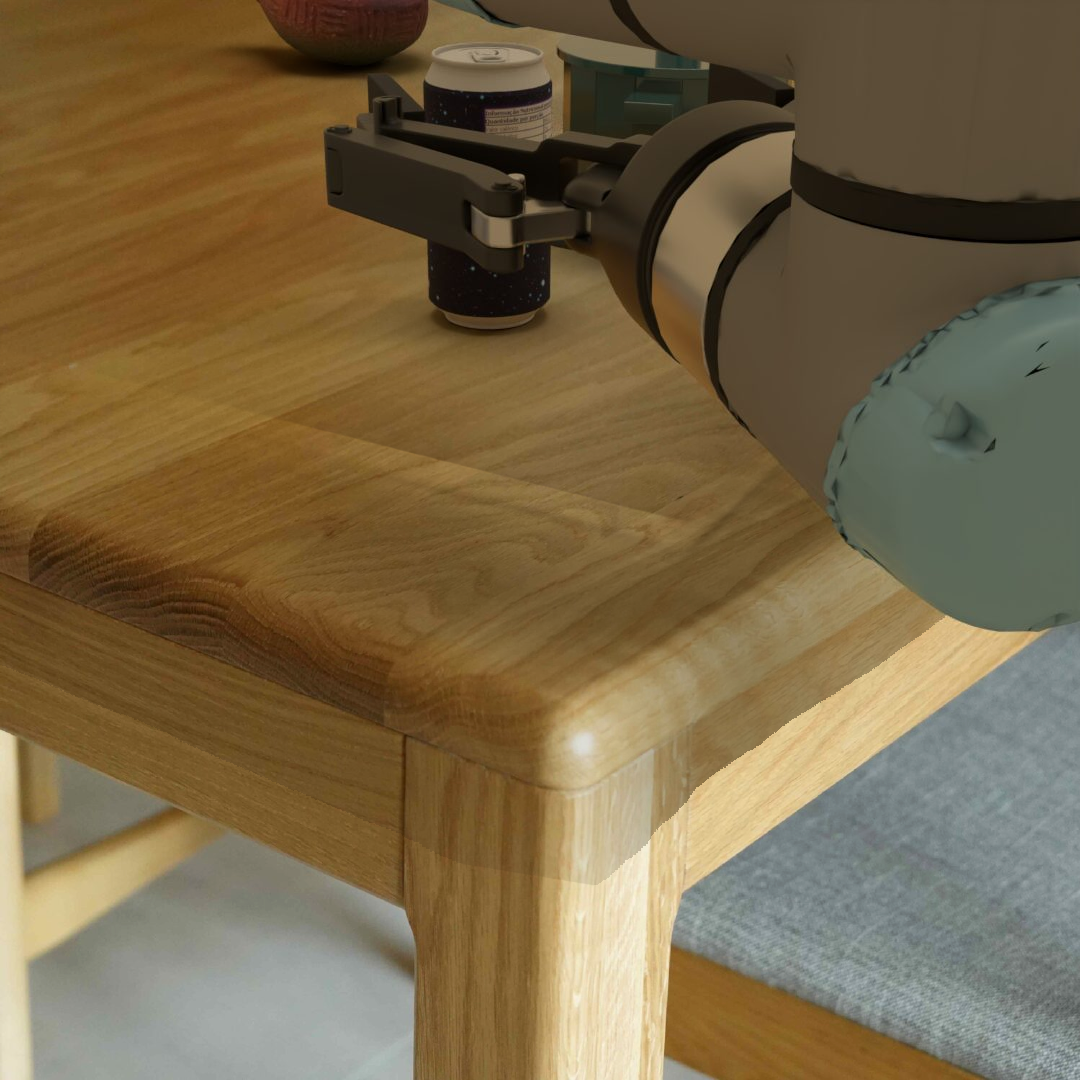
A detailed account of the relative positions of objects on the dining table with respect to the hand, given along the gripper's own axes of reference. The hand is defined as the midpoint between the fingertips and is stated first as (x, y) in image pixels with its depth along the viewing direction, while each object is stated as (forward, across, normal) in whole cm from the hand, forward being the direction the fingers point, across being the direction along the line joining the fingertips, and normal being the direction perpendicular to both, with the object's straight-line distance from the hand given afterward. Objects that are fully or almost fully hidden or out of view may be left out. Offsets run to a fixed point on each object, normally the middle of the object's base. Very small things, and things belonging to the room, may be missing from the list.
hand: (551, 99), depth 63 cm
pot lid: (+20, +13, -3) cm, 23 cm away
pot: (+20, +13, -12) cm, 26 cm away
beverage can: (+10, 0, -12) cm, 16 cm away
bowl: (+70, +3, -12) cm, 72 cm away
